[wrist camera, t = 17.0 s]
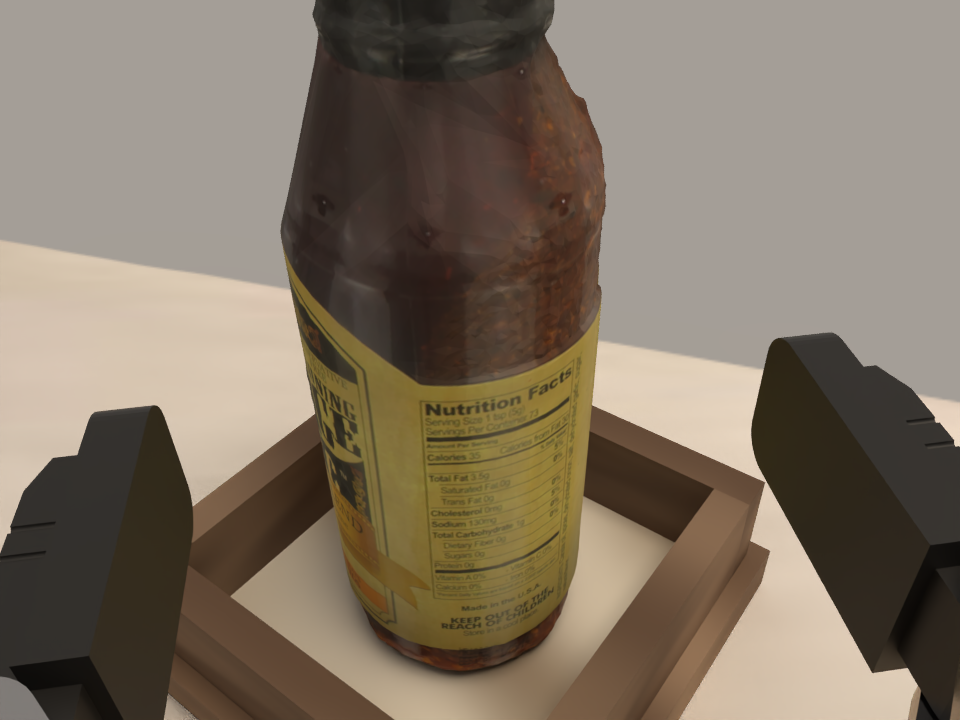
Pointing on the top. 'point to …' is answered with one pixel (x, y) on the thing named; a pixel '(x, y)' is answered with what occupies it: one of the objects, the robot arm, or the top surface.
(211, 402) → the top surface
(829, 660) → the top surface
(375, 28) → the sauce bottle
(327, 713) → the frame
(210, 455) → the top surface
